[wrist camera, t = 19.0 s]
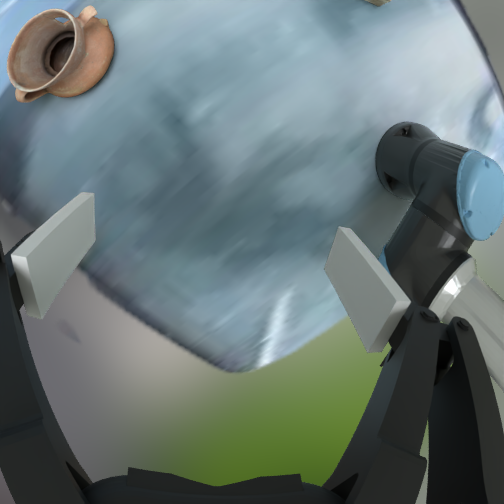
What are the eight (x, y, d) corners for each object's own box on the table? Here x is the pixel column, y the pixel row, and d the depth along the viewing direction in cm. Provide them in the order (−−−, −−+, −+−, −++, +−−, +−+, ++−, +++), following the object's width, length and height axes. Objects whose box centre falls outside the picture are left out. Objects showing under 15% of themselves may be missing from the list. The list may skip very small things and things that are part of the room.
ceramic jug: (98, 1, 29) (61, -23, 17) (141, 49, 36) (111, 32, 23) (29, 73, 33) (-19, 74, 21) (66, 122, 40) (20, 134, 27)
